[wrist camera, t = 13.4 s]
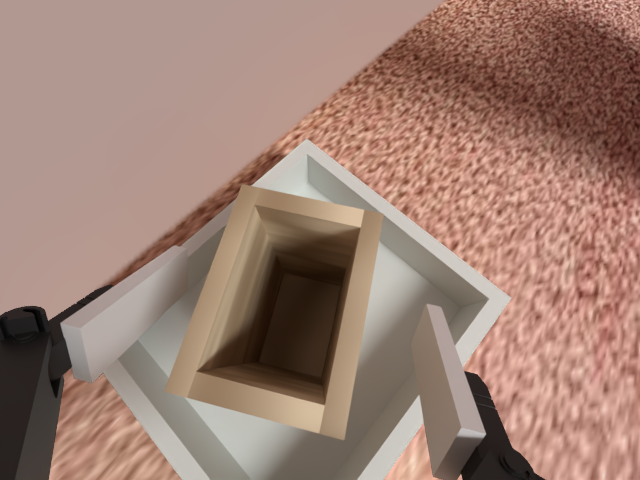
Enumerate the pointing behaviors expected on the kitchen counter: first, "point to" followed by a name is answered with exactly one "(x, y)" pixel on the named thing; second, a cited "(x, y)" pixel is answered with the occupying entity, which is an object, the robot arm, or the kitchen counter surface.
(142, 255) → the kitchen counter surface
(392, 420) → the tray
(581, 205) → the kitchen counter surface
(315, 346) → the box
